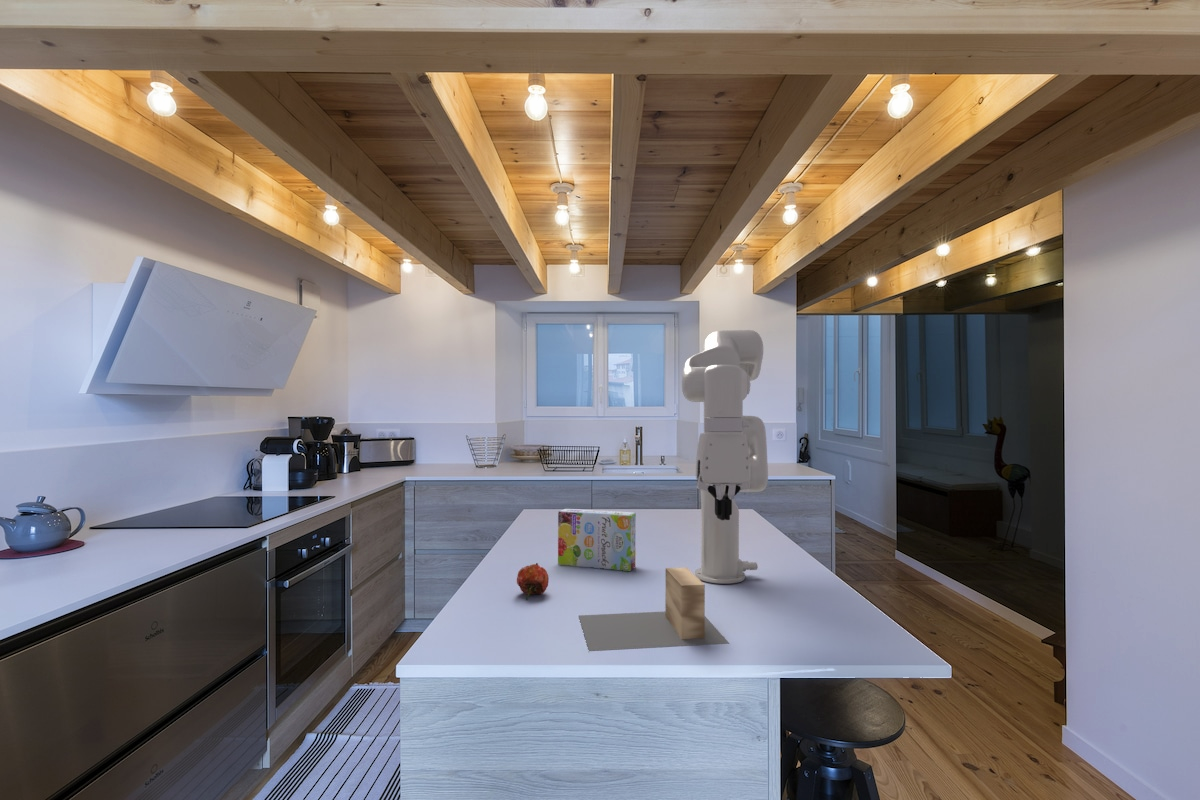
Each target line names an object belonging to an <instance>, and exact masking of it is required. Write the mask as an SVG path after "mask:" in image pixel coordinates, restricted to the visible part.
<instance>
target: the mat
mask: <svg viewBox="0 0 1200 800" xmlns="http://www.w3.org/2000/svg"><path fill="white" fill-rule="evenodd" d="M578 620H580V621H579V623H581V624H580V626H581V629H582V630H583V631H582V633H584V634H583V637H584V640H586V641H585V643H587V644H586V647H588V648H587V650H589V651H588V652H596V651H597V652H598V651H600V652H602V651H615V650H616V651H617V650H634V649H635V650H636V649H637V650H638V649H651V648H652V649H653V648H657V649H658V648H670V647H671V648H673V647H674V648H675V647H688V646H689V647H691V646H705V645H706V646H708V645H710V646H711V645H725V644H726V645H727V644H730V642H729V641H728V640H727V639H726V638H725V636H724V635H723V634H722V633H721V632H720V631H719V630H718V629H717V628H716V626H715V625H714V624H713V623H712V622H711V621H710V620H709V619H708V618H707V617H706V616H705V638H694V639H681V638H680V636H679V635H678V634H677V632H676V631H675V629H674V628H673V627H672V625H671V624H670V622H669V621H668V620H667V618H666V617H665V611H647V612H644V611H643V612H625V613H622V612H621V613H604V614H600V613H599V614H585V615H584V614H583V615H582V614H581V615H578Z"/></svg>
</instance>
